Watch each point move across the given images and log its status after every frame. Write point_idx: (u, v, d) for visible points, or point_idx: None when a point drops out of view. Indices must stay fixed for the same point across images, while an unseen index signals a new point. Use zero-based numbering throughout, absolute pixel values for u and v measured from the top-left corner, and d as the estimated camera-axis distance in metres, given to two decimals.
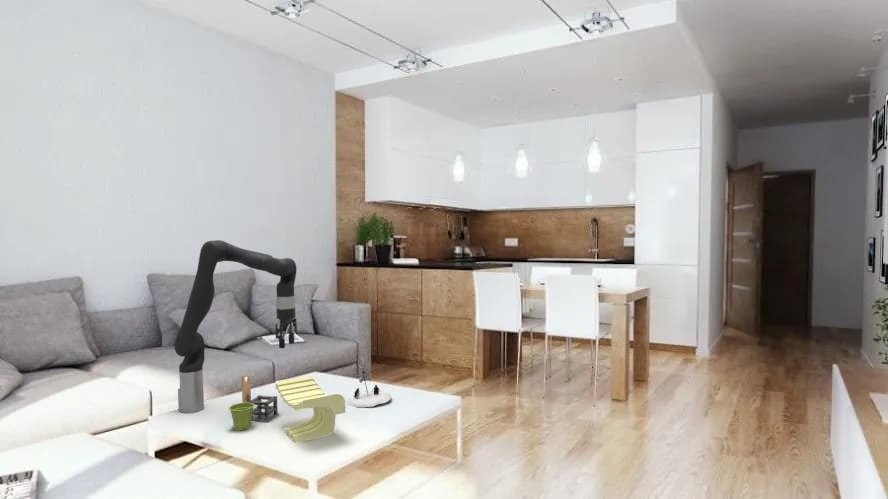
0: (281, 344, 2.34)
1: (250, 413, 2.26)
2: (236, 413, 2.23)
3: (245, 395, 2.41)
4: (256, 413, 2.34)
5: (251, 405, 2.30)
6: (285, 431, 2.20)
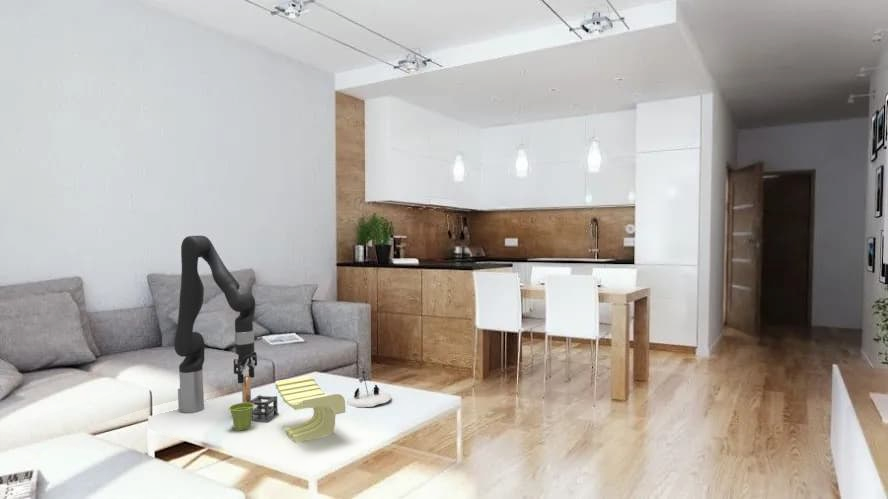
0: (240, 379, 2.37)
1: (250, 413, 2.26)
2: (236, 413, 2.23)
3: (245, 395, 2.41)
4: (256, 413, 2.34)
5: (251, 405, 2.30)
6: (285, 431, 2.20)
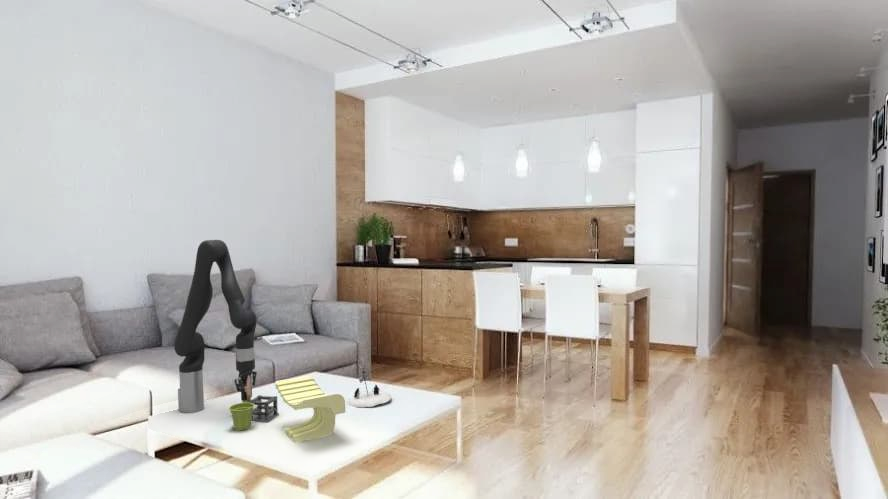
0: (243, 397, 2.39)
1: (250, 413, 2.26)
2: (236, 413, 2.23)
3: None
4: (256, 413, 2.34)
5: (251, 405, 2.30)
6: (285, 431, 2.20)
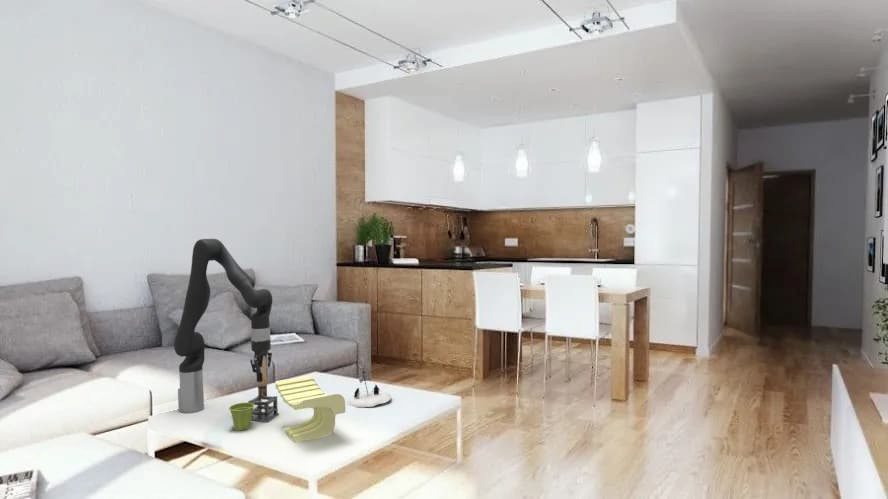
0: (259, 378, 2.34)
1: (250, 413, 2.26)
2: (236, 413, 2.23)
3: None
4: (256, 413, 2.34)
5: (251, 405, 2.30)
6: (285, 431, 2.20)
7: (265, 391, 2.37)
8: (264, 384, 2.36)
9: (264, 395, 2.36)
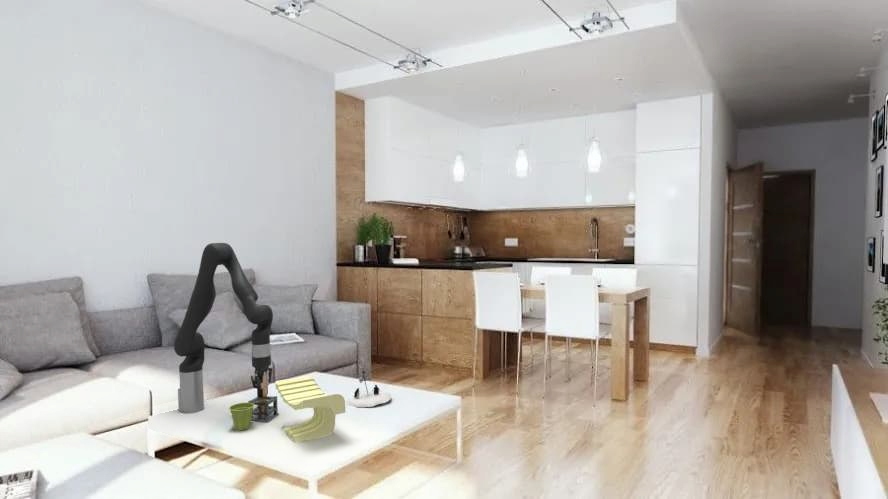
0: (259, 393, 2.34)
1: (250, 413, 2.26)
2: (236, 413, 2.23)
3: None
4: (256, 413, 2.34)
5: (251, 405, 2.30)
6: (285, 431, 2.20)
7: None
8: (265, 400, 2.36)
9: None
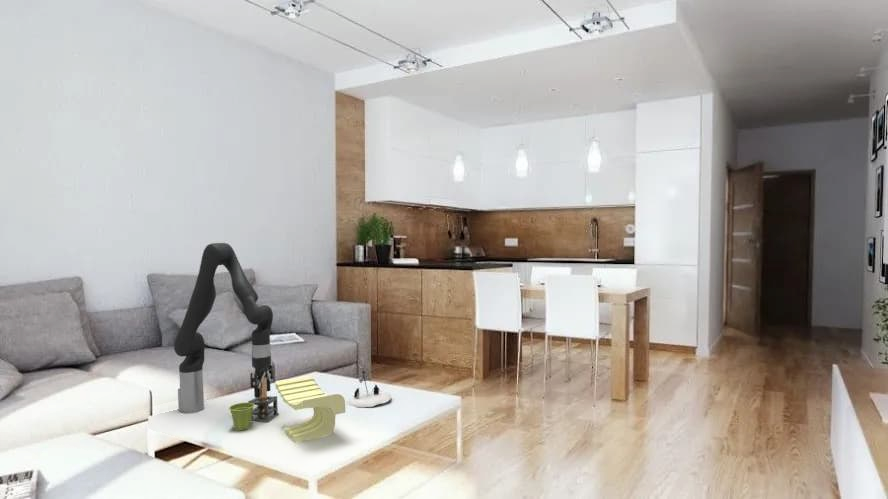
0: (256, 393, 2.32)
1: (250, 413, 2.26)
2: (236, 413, 2.23)
3: (261, 395, 2.36)
4: (256, 413, 2.34)
5: (251, 405, 2.30)
6: (285, 431, 2.20)
7: None
8: None
9: None
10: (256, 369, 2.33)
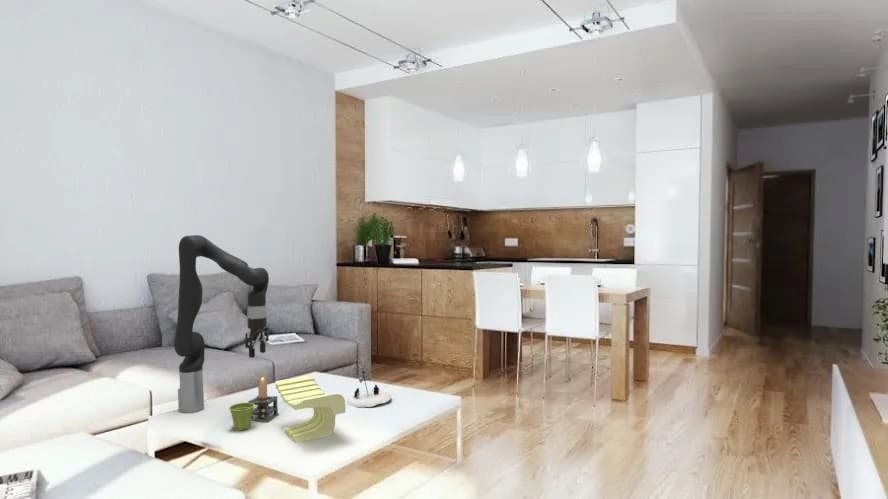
0: (251, 353, 2.36)
1: (250, 413, 2.26)
2: (236, 413, 2.23)
3: (261, 395, 2.36)
4: (256, 413, 2.34)
5: (251, 405, 2.30)
6: (285, 431, 2.20)
7: None
8: None
9: None
10: (251, 330, 2.37)
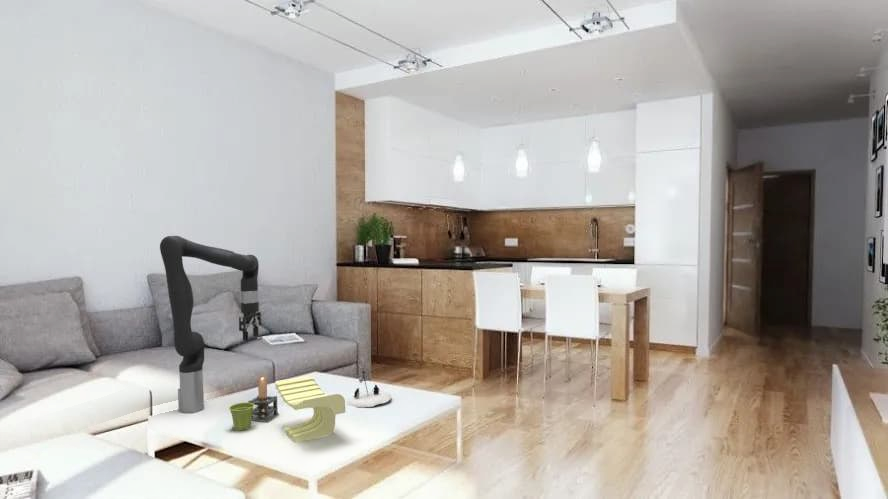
0: (244, 336, 2.46)
1: (250, 413, 2.26)
2: (236, 413, 2.23)
3: (261, 395, 2.36)
4: (256, 413, 2.34)
5: (251, 405, 2.30)
6: (285, 431, 2.20)
7: None
8: None
9: None
10: (244, 314, 2.47)
